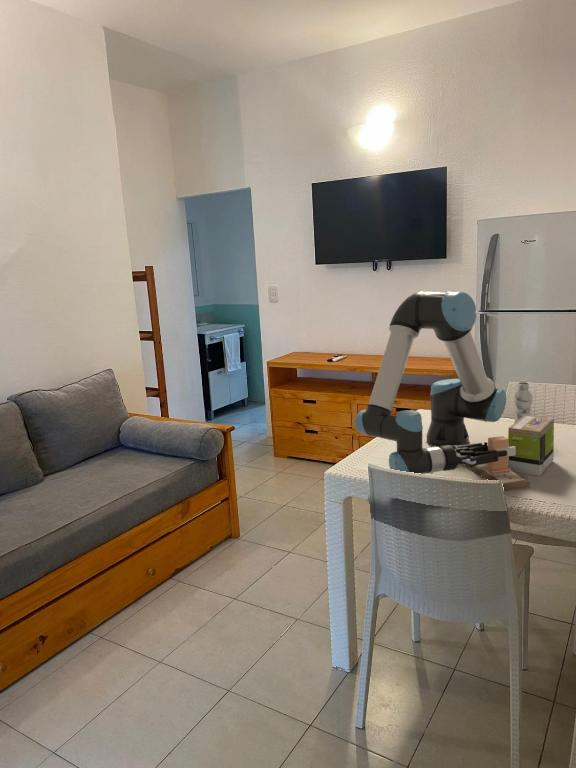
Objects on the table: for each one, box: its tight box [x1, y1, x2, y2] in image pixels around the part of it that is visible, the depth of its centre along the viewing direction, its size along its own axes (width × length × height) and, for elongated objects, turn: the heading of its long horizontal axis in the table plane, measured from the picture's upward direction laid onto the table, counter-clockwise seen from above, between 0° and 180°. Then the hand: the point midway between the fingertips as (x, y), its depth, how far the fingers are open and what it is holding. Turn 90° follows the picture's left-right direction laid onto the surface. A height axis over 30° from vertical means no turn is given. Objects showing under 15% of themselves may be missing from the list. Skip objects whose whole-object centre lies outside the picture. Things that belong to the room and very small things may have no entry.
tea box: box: [507, 415, 555, 477], centre depth 184 cm, size 15×10×15 cm, turn 141°
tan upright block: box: [485, 435, 511, 473], centre depth 177 cm, size 5×6×10 cm
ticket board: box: [463, 463, 531, 492], centre depth 181 cm, size 24×9×2 cm, turn 11°
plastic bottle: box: [513, 381, 533, 424], centre depth 213 cm, size 6×7×20 cm
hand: (511, 448), depth 178 cm, fingers closed on tan upright block, 3 cm apart
